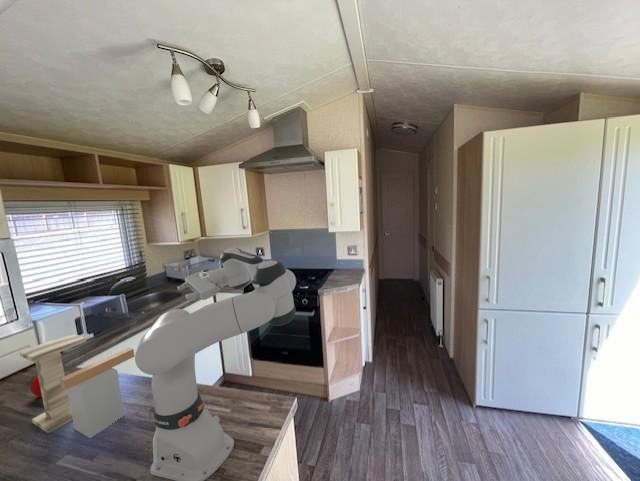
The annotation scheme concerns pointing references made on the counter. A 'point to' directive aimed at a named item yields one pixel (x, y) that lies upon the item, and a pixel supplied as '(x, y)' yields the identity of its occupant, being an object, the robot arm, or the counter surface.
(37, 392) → the fruit
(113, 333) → the counter surface
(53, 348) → the tall stand
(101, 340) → the counter surface
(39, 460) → the counter surface
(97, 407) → the pedestal
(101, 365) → the bar
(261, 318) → the robot arm
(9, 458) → the counter surface
